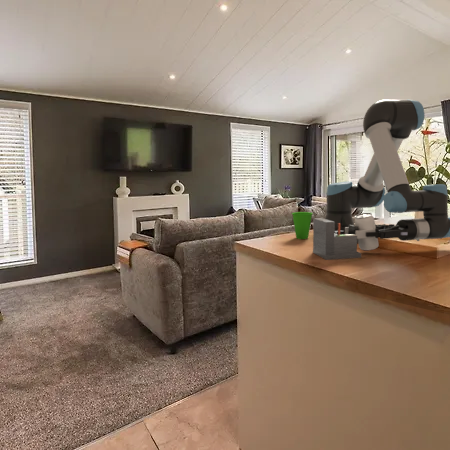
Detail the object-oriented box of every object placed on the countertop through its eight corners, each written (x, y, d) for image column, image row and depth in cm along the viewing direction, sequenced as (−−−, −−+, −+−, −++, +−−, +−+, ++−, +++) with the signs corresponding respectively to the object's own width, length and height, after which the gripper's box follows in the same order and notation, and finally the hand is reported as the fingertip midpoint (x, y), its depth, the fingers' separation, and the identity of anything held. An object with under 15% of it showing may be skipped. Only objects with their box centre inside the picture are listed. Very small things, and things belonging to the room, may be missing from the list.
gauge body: (345, 250, 128) (346, 216, 126) (361, 257, 117) (362, 220, 116) (312, 252, 126) (313, 218, 125) (325, 259, 116) (326, 222, 114)
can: (383, 245, 122) (377, 212, 120) (370, 252, 119) (364, 218, 117) (367, 243, 128) (361, 211, 125) (355, 249, 125) (349, 217, 122)
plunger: (351, 243, 125) (351, 220, 124) (359, 247, 119) (360, 222, 118) (327, 245, 124) (327, 221, 122) (334, 248, 118) (335, 223, 117)
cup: (290, 236, 159) (290, 212, 157) (310, 235, 159) (310, 211, 157) (293, 240, 150) (293, 214, 149) (314, 239, 150) (314, 214, 148)
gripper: (430, 245, 116) (365, 249, 113) (393, 235, 135) (337, 238, 132) (431, 222, 115) (365, 226, 111) (394, 215, 134) (337, 218, 131)
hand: (350, 232), depth 122 cm, fingers closed on can, 6 cm apart
